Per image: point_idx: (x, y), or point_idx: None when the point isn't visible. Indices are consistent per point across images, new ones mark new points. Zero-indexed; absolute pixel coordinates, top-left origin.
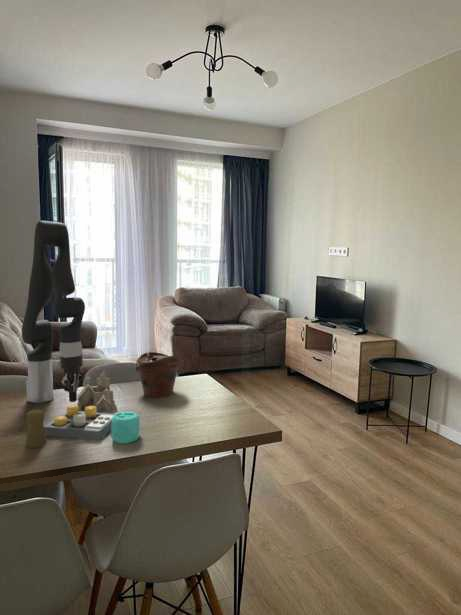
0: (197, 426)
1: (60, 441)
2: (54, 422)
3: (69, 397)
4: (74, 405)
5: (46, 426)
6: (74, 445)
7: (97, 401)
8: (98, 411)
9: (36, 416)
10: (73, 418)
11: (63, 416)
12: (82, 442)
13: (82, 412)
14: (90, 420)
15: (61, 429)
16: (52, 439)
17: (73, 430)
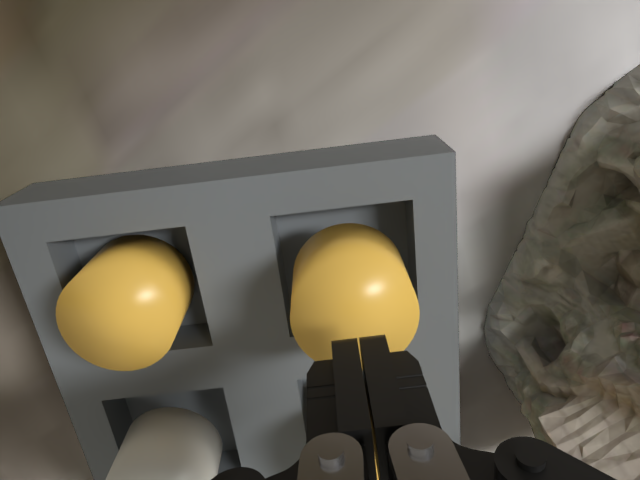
0: None
1: (21, 360)
2: (80, 270)
3: (308, 397)
4: (389, 318)
5: (10, 230)
6: (25, 462)
7: (615, 403)
8: (517, 389)
9: None
10: (109, 472)
11: (167, 318)
12: (83, 477)
13: (433, 312)
14: (283, 461)
15: (54, 360)
16: (16, 293)
17: (86, 442)
